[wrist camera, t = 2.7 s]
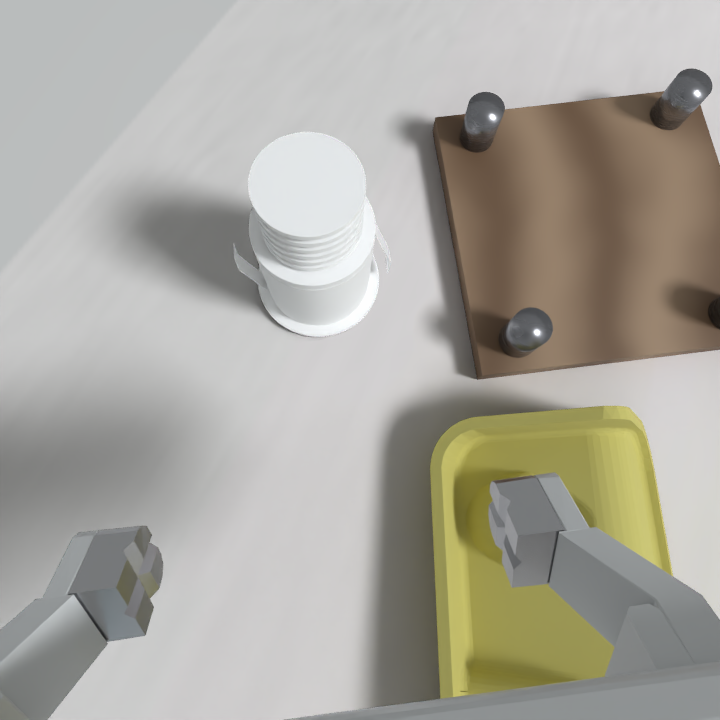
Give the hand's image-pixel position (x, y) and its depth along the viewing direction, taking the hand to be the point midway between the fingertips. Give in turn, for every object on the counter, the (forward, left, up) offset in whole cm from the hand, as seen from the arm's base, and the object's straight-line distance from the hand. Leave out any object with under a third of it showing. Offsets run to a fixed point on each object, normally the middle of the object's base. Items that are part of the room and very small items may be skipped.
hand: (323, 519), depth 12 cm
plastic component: (+9, -7, -15) cm, 19 cm away
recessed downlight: (0, +12, -15) cm, 19 cm away
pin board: (+16, +13, -15) cm, 25 cm away
